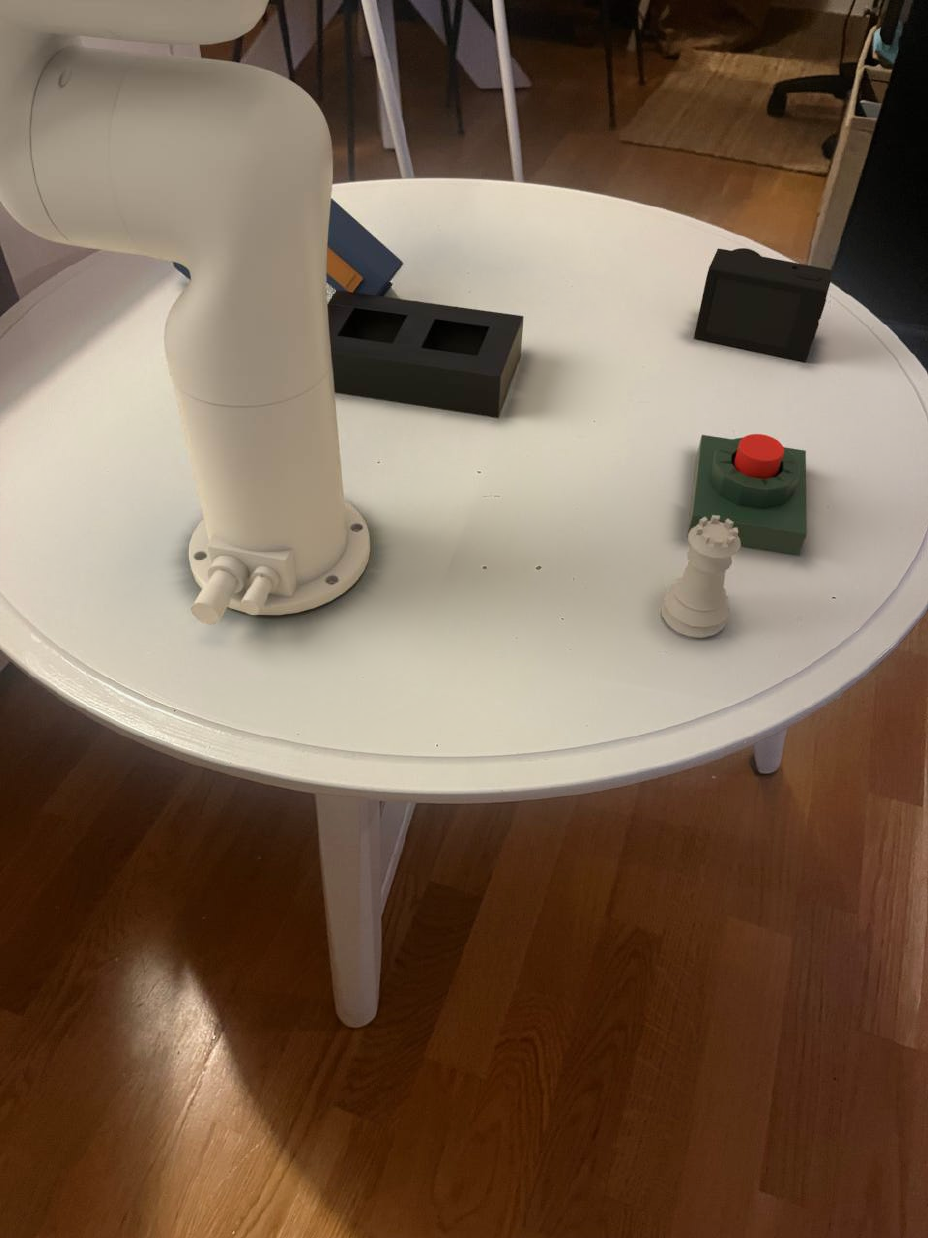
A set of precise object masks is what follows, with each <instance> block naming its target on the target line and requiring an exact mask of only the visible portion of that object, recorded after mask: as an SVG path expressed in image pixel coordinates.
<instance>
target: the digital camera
mask: <svg viewBox="0 0 928 1238" xmlns="http://www.w3.org/2000/svg"><path fill="white" fill-rule="evenodd" d="M833 273H834V270H833V269H829V268H825V267H818V266H813V265H809V264H804V263H803V264H802V263H798V262H793V261H786V260H782V259H777V258H772V257H767V256H762V255H760V254H759V253H758V252H757V251H756V250H753V249H751V248H745V247H739V248H735V249H732V250H731V249H724V248H717V249H716V251H715V254H714V256H713V258H712V261H711V262H710V265H709V266H708V270H707V273H706V277H705V282H704V287H703V291H702V295H701V296H702V297H701V300H700V307H699V311H698V316H697V321H696V326H695V330H694V334H693V335H694V336H693V339H697V340H701V341H706V342H710V343H715V344H718V345H719V344H720V345H724V346H728V347H734V348H737V349H743V350H748V351H752V352H757V353H762V354H767V355H771V356H777V357H779V358H785V359H790V360H795V361H800V362H804V363H805V362H807V359H808V356H809V354H810V350H811V347H812V344H813V342H814V341H815V338H816V334H817V330H818V327H819V325H820V323H819V321H820V320H821V318H822V315H823V311H824V308H825V305H826V302H827V296H828V294H829V293H828V292H829V288H830V285H831V281H832V277H833Z"/></svg>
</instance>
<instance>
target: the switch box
mask: <svg viewBox="0 0 928 1238" xmlns="http://www.w3.org/2000/svg"><path fill="white" fill-rule="evenodd" d="M744 437H745V436H743V437H737V438H726V437H721V436H720V437H719V436H713V435H705V434H701V436H700V440H699V444H698V448H697V452H696V456H695V457H696V458H695V464H694V465H695V466H694V475H693V476H694V477H693V482H692V493H691V501H690V509H689V518H688V526H687V535H686V537H687V538H688V534H689V532H690V530H691V529H692V528H694V527H695V526H697V524H699V521H700V519H702V518H703V517H706V518H707V519H708V521H711V517H712V515H716V516H720V519H719V522H722V523H725V521H726V520H727V519H729V520H731V521H732V522H734V523H733V527H732V529H733V528H738V537H739V538H740V543H741V547H742V548H748V549H753V550H759V551H760V550H761V551H765V552H772V553H778V554H784V555H789V556H796V557H799V556H800V553H801V551H802V547H803V546H804V543H805V540H806V537H807V534H808V531H807V526H808V525H807V451H806V450H804V449H798V448H791V447H785V446H783V448H784V454H783V458H782V461H781V464H780V467H779V470H778V473H777V474H776V475H775V476H774V477H772V478H767V479H760V478H753V477H749V476H747V475H745V474H743V473H741V472H739V471H738V470H737V469H736V468H735V465H734V461H735V457H736V453H737V450H738V446H739V443H740V441H741V439H742V438H744ZM741 547H740V548H741Z"/></svg>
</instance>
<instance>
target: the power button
mask: <svg viewBox="0 0 928 1238" xmlns="http://www.w3.org/2000/svg"><path fill="white" fill-rule="evenodd" d="M743 437H744V438H743ZM743 437H741V438H742V439H741V441H740V443H739V446H738V450H737V453H736V457H735V461H734V465H735V468H736V469H737V470H738V471H739V472H741V473H743V474H745V475H747V476H749V477H753V478H760V479H767V478H772V477H774V476H775V475H776V474H777V473H778V470H779V467H780V464H781V461H782V458H783V454H784V448H783V447H784V446H783V444H782V443H781V442H780V440H777V438H774V437H773V436H769V435H767V434H762V433H761V434H759V433H753V434H748V435H745V436H743Z"/></svg>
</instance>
